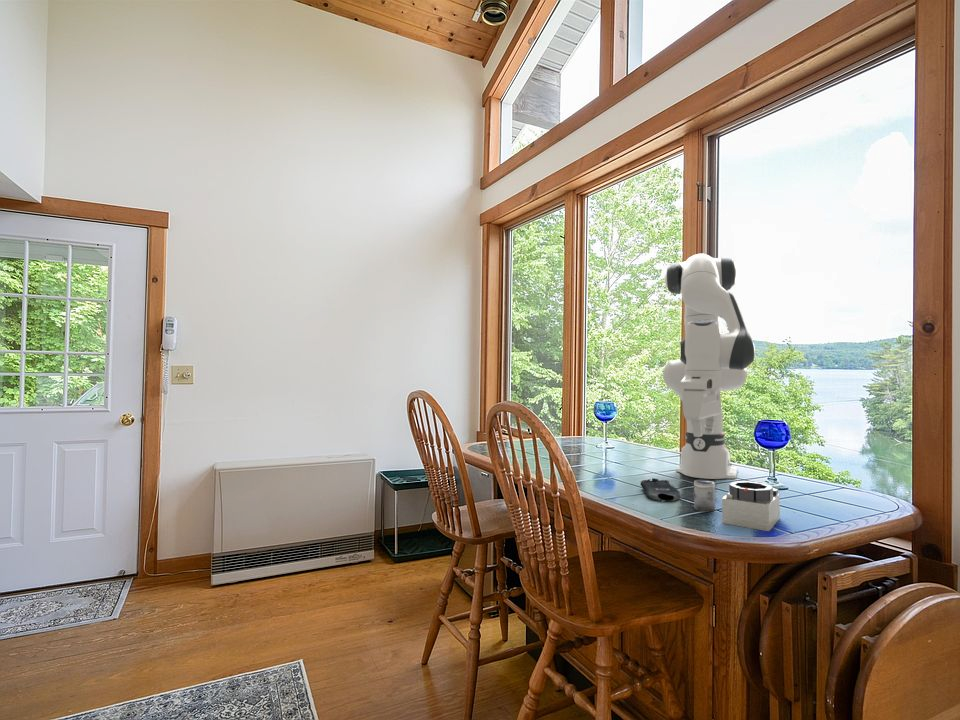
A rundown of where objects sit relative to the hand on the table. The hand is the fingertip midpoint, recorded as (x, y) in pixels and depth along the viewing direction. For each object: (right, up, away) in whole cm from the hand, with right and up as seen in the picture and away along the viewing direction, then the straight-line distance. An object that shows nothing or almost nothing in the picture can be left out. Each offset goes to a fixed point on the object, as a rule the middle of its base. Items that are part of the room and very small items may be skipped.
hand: (703, 434), depth 139 cm
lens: (0, -19, 0) cm, 19 cm away
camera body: (+7, -19, -10) cm, 23 cm away
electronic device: (-6, -20, +15) cm, 26 cm away
